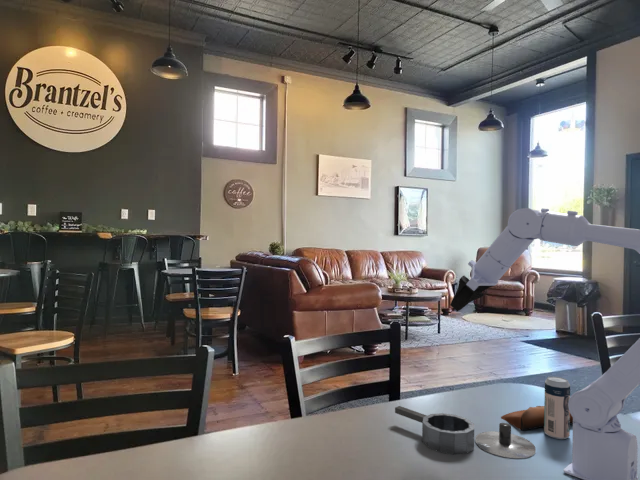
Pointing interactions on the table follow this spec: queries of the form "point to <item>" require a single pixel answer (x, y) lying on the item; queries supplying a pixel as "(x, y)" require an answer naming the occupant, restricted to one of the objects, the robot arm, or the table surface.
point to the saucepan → (443, 431)
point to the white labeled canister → (557, 408)
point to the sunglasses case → (528, 418)
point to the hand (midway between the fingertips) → (459, 303)
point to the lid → (505, 443)
